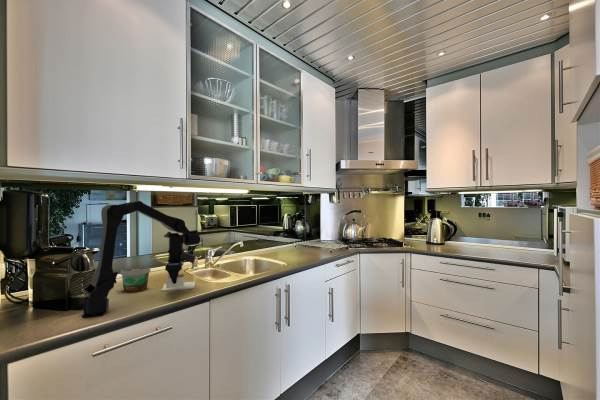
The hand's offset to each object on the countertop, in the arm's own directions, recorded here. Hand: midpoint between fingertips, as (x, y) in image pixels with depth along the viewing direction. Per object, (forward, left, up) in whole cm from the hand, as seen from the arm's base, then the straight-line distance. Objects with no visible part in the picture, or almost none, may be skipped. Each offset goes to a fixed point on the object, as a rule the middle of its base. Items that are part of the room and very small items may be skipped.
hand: (175, 281), depth 122 cm
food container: (-18, +9, -6) cm, 21 cm away
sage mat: (+1, +10, -5) cm, 11 cm away
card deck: (0, 0, -2) cm, 2 cm away
